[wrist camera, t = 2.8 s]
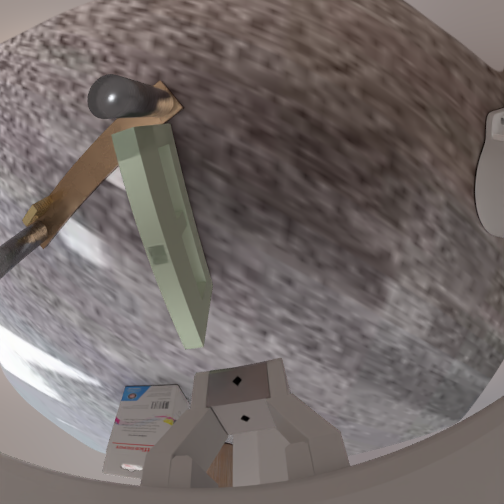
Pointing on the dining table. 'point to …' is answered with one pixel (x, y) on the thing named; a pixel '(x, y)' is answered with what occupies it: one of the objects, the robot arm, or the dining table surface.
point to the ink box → (141, 426)
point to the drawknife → (91, 159)
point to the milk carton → (259, 458)
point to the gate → (166, 226)
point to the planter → (222, 467)
